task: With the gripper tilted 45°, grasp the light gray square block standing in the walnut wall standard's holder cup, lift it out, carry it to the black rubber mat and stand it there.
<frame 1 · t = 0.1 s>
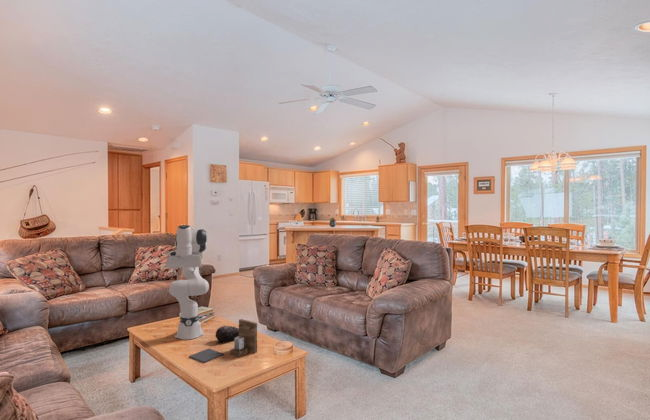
hand: (184, 274, 221), 48 cm above the table, tool pointing down, fingers open, 8 cm apart
light gray square block: (239, 354, 221), resting in wall standard
dark porous rock: (228, 340, 245), on the table
rubber mat: (206, 356, 218), on the table
wall standard: (239, 354, 221), on the table
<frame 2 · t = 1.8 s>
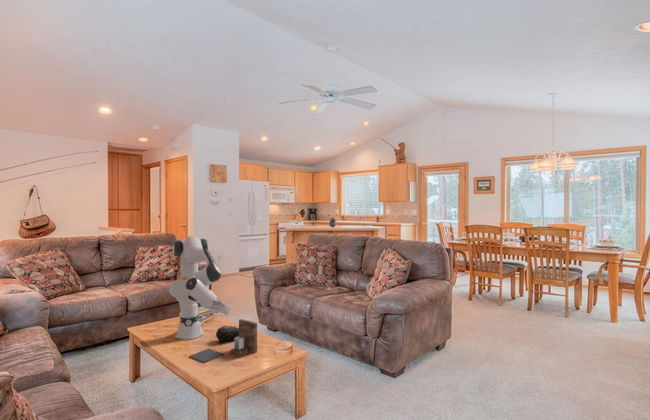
hand: (222, 313, 211), 28 cm above the table, tool tilted 45°, fingers open, 8 cm apart
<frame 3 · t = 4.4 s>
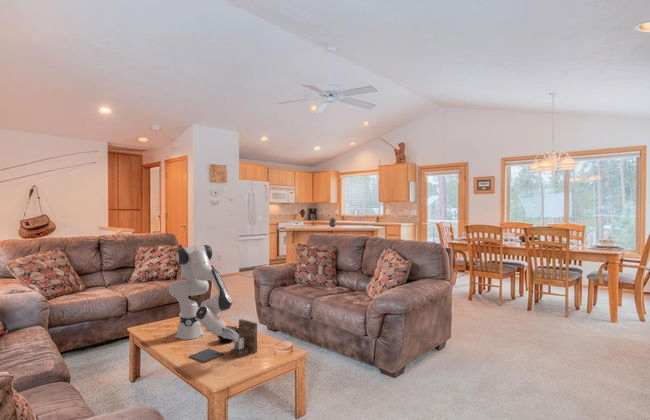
hand: (231, 338, 216), 11 cm above the table, tool tilted 45°, fingers open, 8 cm apart
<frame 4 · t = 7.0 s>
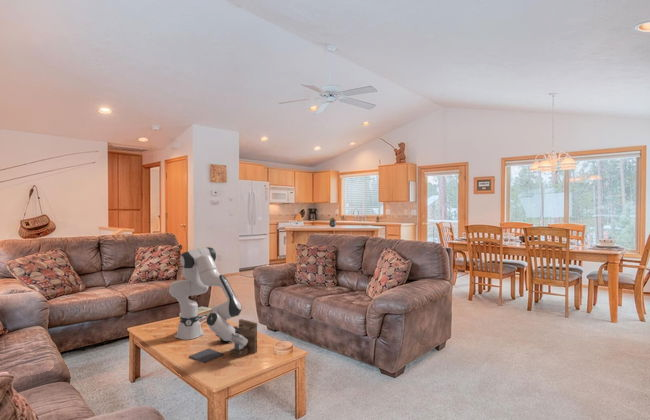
hand: (240, 344, 222), 6 cm above the table, tool tilted 45°, fingers closed on light gray square block, 4 cm apart
light gray square block: (239, 354, 221), resting in wall standard, touching gripper
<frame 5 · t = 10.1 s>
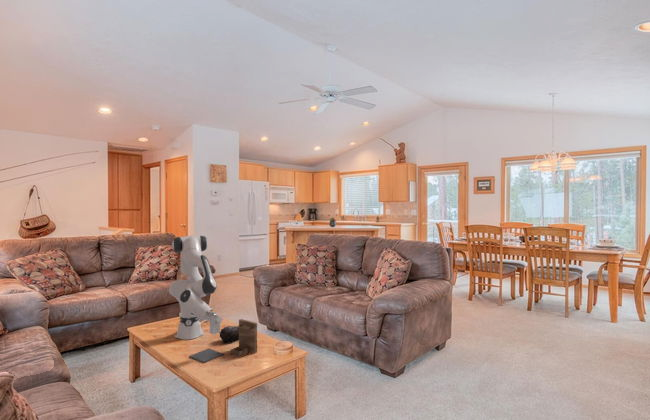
hand: (215, 322, 220), 20 cm above the table, tool tilted 45°, fingers closed on light gray square block, 4 cm apart
light gray square block: (214, 332, 219), point 14 cm above the table, touching gripper
when the fingers open (8 cm above the table, at t = 13.5 s): light gray square block drops 1 cm, resting on rubber mat.
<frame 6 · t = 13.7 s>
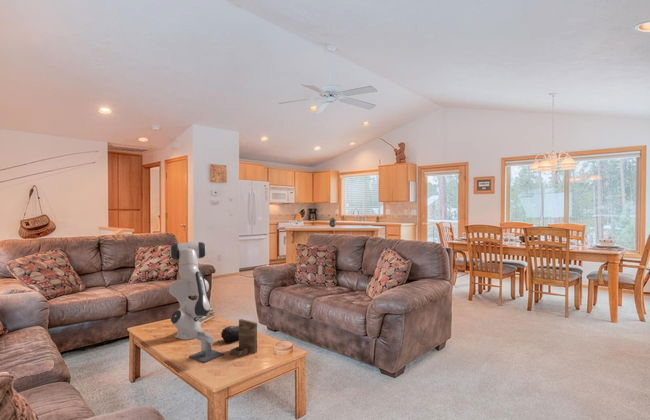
hand: (207, 342, 219), 8 cm above the table, tool tilted 45°, fingers open, 6 cm apart
light gray square block: (206, 354, 218), point 1 cm above the table, touching rubber mat
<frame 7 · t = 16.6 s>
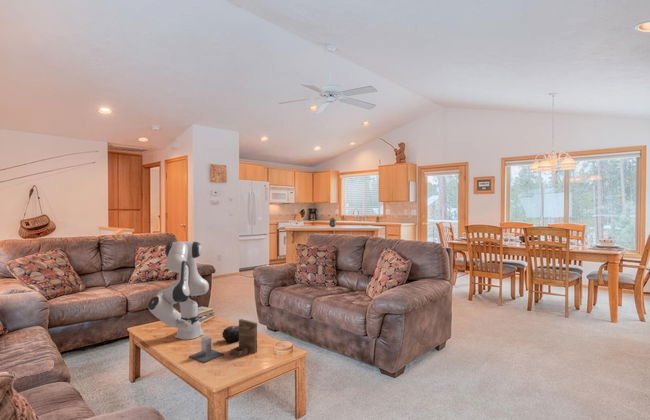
hand: (187, 331, 208), 18 cm above the table, tool tilted 45°, fingers open, 8 cm apart
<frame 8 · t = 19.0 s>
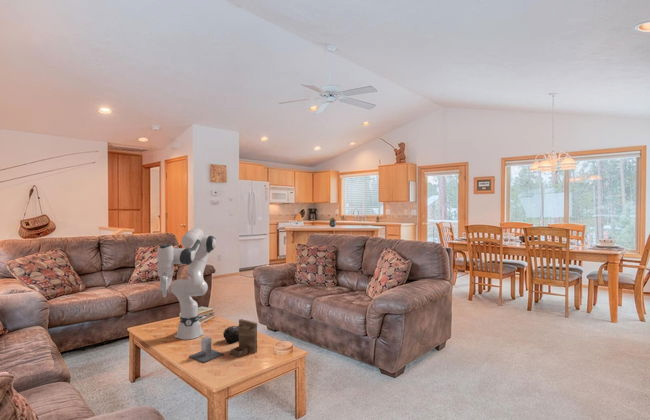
hand: (165, 295, 215), 37 cm above the table, tool pointing down, fingers open, 8 cm apart
at the end: light gray square block inside the target area (0.1 cm from its centre), point 0.8 cm above the table; light gray square block tilted 0°; the gripper is holding nothing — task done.
